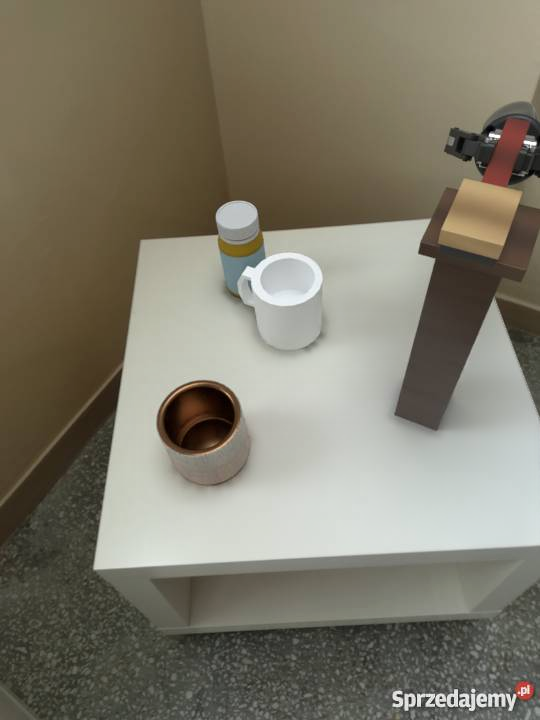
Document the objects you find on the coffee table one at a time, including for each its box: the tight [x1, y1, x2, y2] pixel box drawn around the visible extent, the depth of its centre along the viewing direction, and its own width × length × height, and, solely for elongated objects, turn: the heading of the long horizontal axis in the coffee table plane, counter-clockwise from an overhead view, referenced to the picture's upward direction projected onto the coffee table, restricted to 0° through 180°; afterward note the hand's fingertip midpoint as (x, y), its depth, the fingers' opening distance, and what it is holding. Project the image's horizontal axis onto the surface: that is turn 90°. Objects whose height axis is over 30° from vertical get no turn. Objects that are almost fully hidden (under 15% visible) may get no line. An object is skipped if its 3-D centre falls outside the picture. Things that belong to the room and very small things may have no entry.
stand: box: [394, 186, 540, 431], centre depth 61 cm, size 8×9×33 cm
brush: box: [438, 117, 531, 267], centre depth 48 cm, size 19×5×3 cm, turn 154°
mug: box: [237, 252, 324, 351], centre depth 80 cm, size 14×10×11 cm
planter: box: [155, 379, 251, 486], centre depth 69 cm, size 11×11×10 cm
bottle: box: [215, 200, 267, 298], centre depth 83 cm, size 7×7×15 cm
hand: (503, 158), depth 48 cm, fingers closed on brush, 2 cm apart
